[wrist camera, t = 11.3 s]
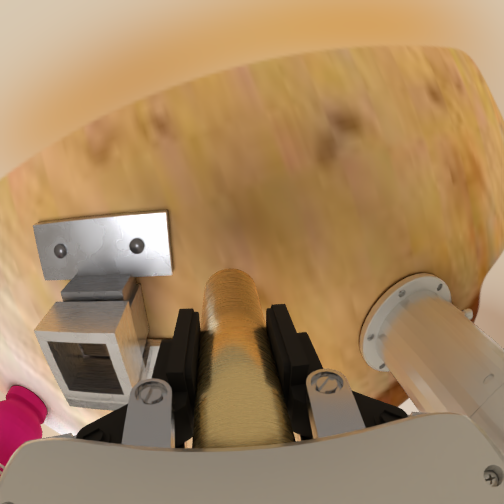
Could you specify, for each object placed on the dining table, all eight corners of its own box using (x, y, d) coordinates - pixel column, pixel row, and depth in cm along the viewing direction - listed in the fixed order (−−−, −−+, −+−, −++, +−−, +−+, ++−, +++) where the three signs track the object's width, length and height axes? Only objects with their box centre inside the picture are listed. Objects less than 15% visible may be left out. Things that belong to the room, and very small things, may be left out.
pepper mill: (-1, 379, 25) (-55, 488, 7) (35, 385, 26) (-16, 513, 8) (22, 414, 28) (-16, 518, 9) (58, 421, 29) (25, 540, 10)
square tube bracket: (173, 274, 24) (160, 332, 16) (189, 377, 28) (188, 442, 20) (49, 279, 22) (5, 328, 15) (83, 375, 26) (61, 431, 19)
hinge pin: (265, 258, 16) (363, 504, 3) (265, 320, 17) (325, 546, 5) (192, 261, 15) (144, 521, 3) (198, 324, 16) (185, 557, 4)
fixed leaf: (167, 209, 22) (159, 222, 18) (182, 334, 26) (179, 362, 22) (38, 222, 21) (14, 236, 17) (67, 334, 25) (53, 358, 21)
